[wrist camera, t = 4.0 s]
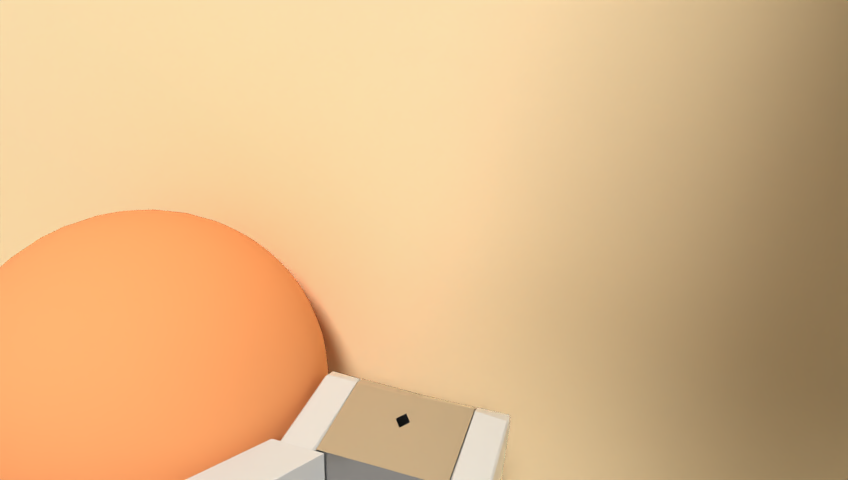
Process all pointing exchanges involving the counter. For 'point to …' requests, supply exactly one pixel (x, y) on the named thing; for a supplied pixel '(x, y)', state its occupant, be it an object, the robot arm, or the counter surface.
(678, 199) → the counter surface
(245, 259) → the ball
